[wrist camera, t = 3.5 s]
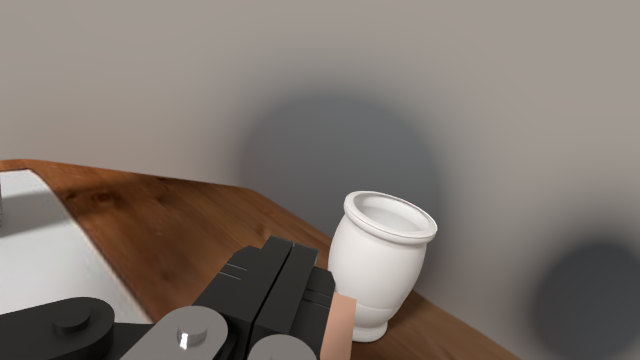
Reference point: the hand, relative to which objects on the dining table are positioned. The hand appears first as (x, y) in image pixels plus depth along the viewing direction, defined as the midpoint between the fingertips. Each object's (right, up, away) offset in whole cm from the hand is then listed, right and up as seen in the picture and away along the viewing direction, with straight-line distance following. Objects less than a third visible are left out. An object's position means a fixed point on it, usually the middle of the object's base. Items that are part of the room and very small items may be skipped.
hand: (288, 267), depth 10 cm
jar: (+5, -14, +33) cm, 36 cm away
